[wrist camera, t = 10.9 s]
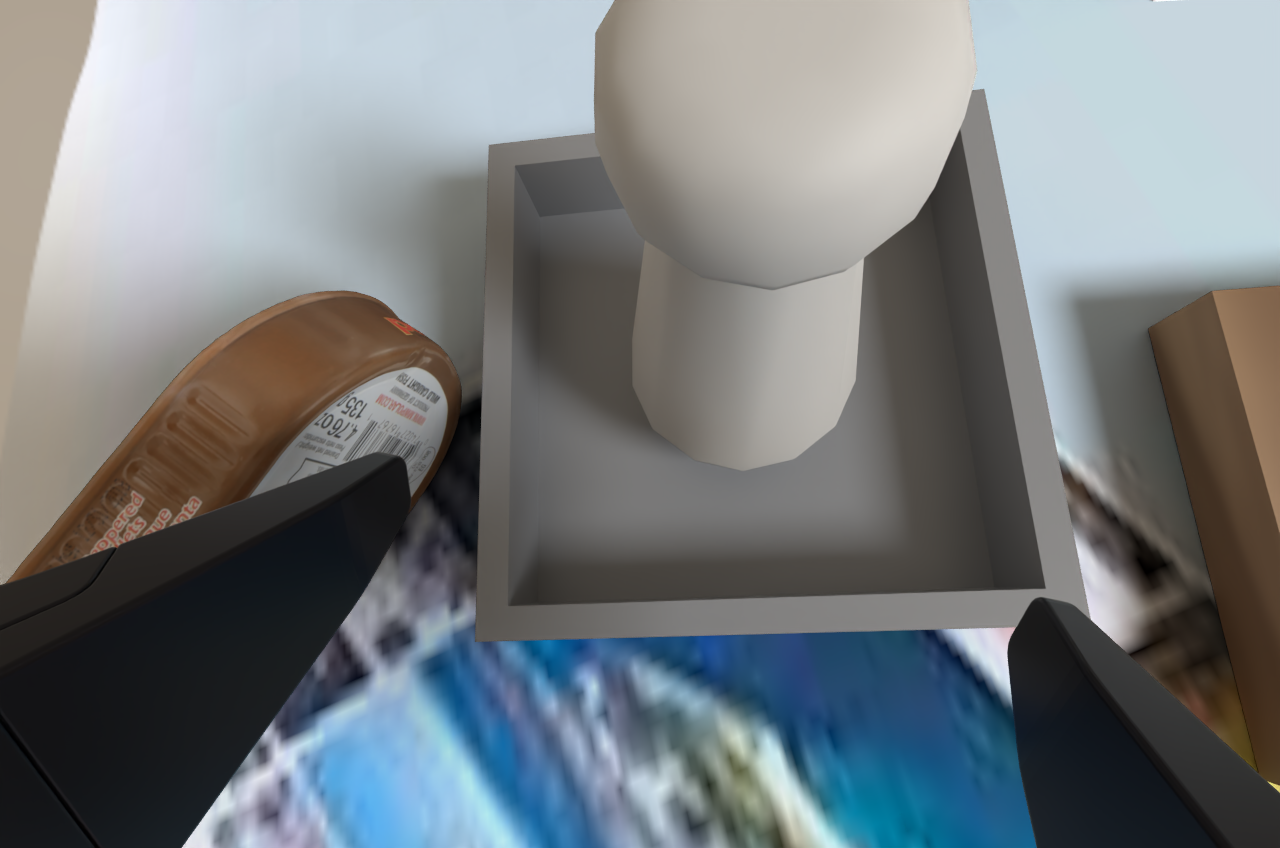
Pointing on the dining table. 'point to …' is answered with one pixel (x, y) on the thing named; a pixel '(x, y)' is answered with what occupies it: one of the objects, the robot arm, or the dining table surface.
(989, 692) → the dining table surface
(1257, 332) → the brown flat square frame
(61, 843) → the robot arm
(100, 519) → the tin
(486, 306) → the bin
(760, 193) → the salt shaker
